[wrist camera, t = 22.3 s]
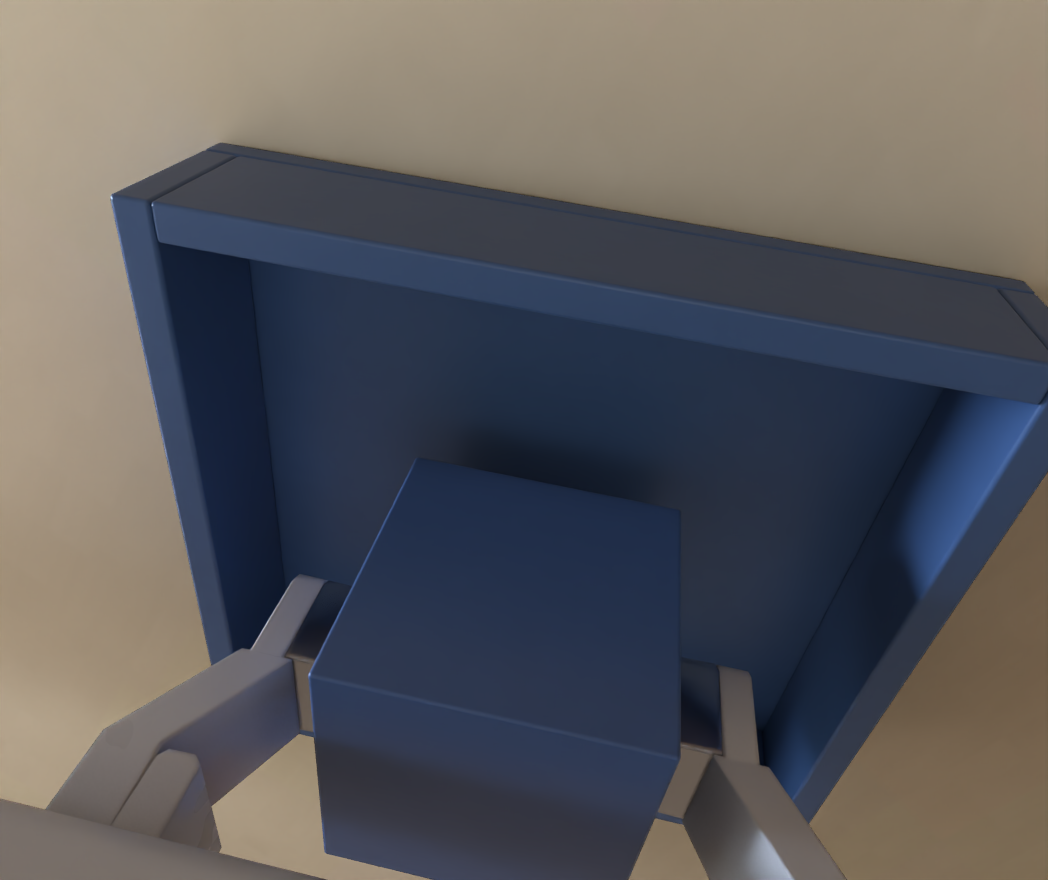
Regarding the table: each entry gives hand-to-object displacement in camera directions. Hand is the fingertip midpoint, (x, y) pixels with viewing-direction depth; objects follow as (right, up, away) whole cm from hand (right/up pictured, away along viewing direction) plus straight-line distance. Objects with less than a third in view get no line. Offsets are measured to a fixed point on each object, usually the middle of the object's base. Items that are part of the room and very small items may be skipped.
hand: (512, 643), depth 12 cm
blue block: (0, +1, +1) cm, 2 cm away
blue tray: (+1, +2, +3) cm, 4 cm away
